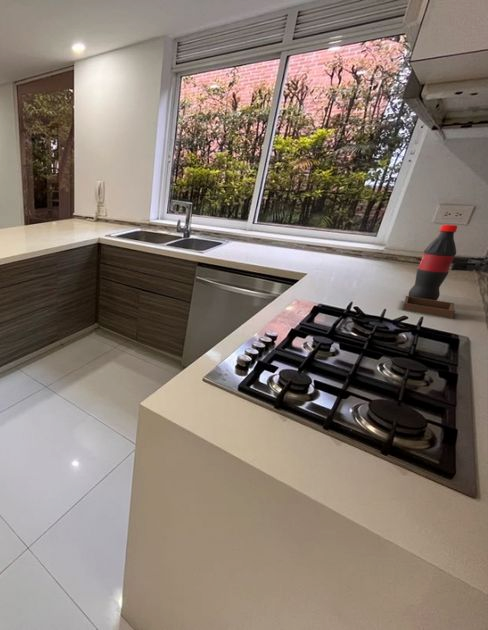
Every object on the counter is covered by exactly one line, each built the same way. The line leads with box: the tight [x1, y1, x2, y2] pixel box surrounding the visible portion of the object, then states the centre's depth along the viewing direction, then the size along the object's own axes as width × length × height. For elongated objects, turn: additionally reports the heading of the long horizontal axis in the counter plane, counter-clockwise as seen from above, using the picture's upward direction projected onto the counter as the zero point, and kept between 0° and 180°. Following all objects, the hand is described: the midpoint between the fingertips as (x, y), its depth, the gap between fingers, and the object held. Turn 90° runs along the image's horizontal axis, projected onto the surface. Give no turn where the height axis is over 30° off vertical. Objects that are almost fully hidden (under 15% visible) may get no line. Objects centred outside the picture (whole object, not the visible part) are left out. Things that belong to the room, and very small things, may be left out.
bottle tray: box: [401, 295, 456, 319], centre depth 123 cm, size 13×13×4 cm
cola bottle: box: [407, 224, 458, 301], centre depth 130 cm, size 8×8×30 cm
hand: (437, 262), depth 129 cm, fingers open, 13 cm apart
